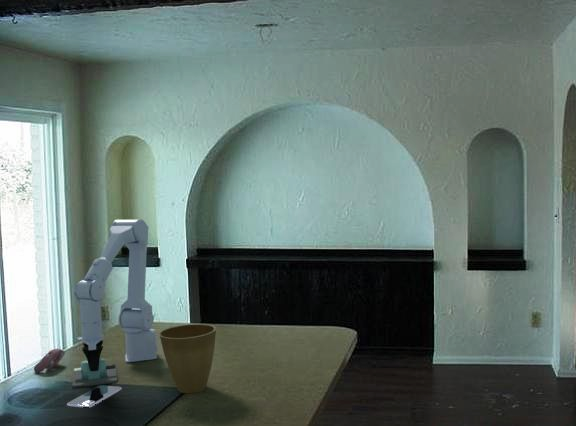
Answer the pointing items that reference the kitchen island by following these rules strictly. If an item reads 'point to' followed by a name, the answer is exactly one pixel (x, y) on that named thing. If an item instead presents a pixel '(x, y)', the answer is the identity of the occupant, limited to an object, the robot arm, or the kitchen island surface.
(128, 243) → the robot arm
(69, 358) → the kitchen island surface
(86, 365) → the plug
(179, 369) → the plant pot
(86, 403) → the mobile phone
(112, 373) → the pad
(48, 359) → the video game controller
